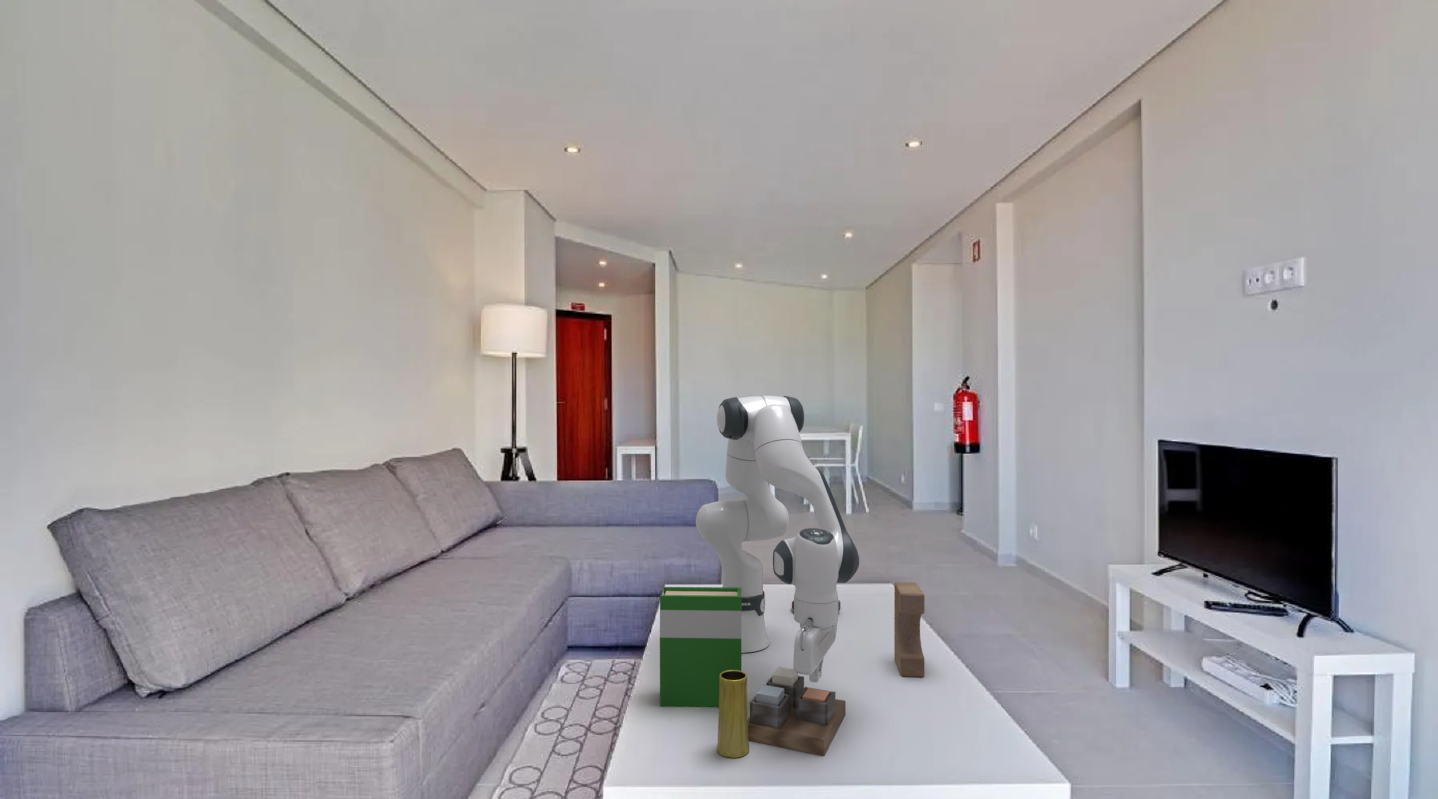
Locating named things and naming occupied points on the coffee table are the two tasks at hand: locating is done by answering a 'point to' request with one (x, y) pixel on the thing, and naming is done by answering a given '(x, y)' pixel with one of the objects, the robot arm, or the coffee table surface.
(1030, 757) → the coffee table surface
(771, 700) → the slate button
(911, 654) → the decorative block
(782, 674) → the cream button
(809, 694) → the terracotta button
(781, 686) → the block sorting tray
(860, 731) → the coffee table surface
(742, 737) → the vase
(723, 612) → the hardback book
